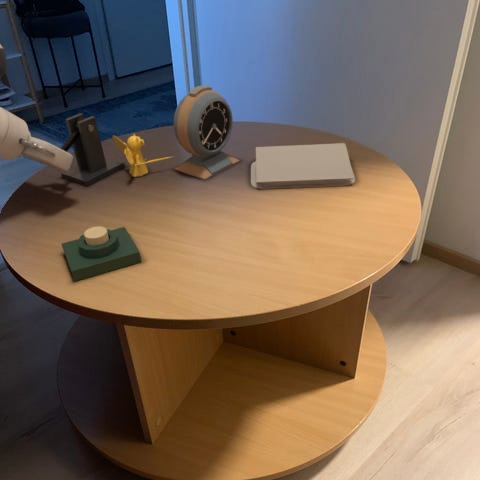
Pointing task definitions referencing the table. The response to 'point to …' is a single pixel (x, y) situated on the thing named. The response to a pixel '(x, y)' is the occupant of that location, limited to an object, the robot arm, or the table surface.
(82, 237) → the control block
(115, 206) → the table surface
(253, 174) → the book
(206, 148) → the alarm clock
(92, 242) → the button
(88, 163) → the switch bracket
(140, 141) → the figurine
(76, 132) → the switch lever
